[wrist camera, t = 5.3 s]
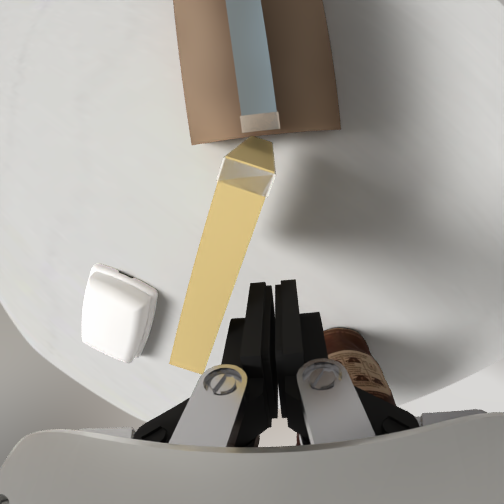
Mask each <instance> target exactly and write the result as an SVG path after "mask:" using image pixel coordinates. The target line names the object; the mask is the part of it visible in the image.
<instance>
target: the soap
mask: <svg viewBox="0 0 504 504" xmlns="http://www.w3.org/2000/svg"><path fill="white" fill-rule="evenodd" d="M157 298H158V292H157V290H156V289H155V288H153V287H151V286H150V285H148V284H146V283H144V282H142V281H141V280H139V279H137V278H135V277H134V278H130V277H128V276H126V275H124V274H121V273H119V270H117V269H114V268H112V267H109V266H106V265H103V264H100V263H97V264H95V265H94V266H93V267H92V269H91V272H90V276H89V279H88V283H87V287H86V292H85V297H84V303H83V311H82V341H83V342H84V343H86V344H87V345H89V346H91V347H92V348H94V349H96V350H98V351H100V352H102V353H104V354H106V355H108V356H110V357H112V358H115V359H117V360H120V361H122V362H125V363H131V362H132V361H133V360H134V358H138V357H139V356H140V355H141V353H142V351H143V349H144V347H145V344H146V342H147V339H148V336H149V333H150V330H151V327H152V323H153V319H154V315H155V310H156V305H157ZM142 338H143V339H142Z"/></svg>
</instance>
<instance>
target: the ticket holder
mask: <svg viewBox="0 0 504 504" xmlns="http://www.w3.org/2000/svg"><path fill="white" fill-rule="evenodd" d="M173 4H174V14H175V23H176V32H177V41H178V49H179V58H180V66H181V73H182V81H183V88H184V96H185V103H186V110H187V117H188V124H189V130H190V137H191V143H192V145H196V144H202V143H209V142H215V141H222V140H229V139H236V138H244V137H250V136H261V135H270V134H281V133H292V132H305V131H320V130H339V129H341V125H340V115H339V105H338V96H337V88H336V80H335V73H334V65H333V59H332V52H331V46H330V40H329V34H328V28H327V22H326V17H325V12H324V7H323V2H322V0H173Z"/></svg>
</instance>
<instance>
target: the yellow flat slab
mask: <svg viewBox="0 0 504 504" xmlns="http://www.w3.org/2000/svg"><path fill="white" fill-rule="evenodd" d="M275 176H276V171H275V161H274V152H273V143H272V142H269V141H266V140H263V139H260V138H257V137H254V136H250V137H249V138H247V139H246V140H245V141H244V142H242V143H241V144H240V145H238V146H237V147H236V148H235V149H233V150H232V151H231V152H229V153H228V154H227V155H226V156H224V157H223V160H222V163H221V166H220V170H219V173H218V176H217V179H216V181H218V183H217V186H216V190H215V193H214V196H213V200H212V203H211V206H210V210H209V213H208V216H207V220H206V223H205V227H204V230H203V234H202V237H201V241H200V244H199V248H198V252H197V255H196V259H195V263H194V266H193V270H192V274H191V278H190V281H189V285H188V289H187V293H186V297H185V301H184V305H183V309H182V313H181V317H180V321H179V325H178V329H177V333H176V337H175V341H174V346H173V350H172V354H171V358H170V363H169V364H171V365H174V366H177V367H180V368H183V369H187V370H190V371H193V372H196V373H199V374H203V373H204V370H205V367H206V364H207V362H208V359H209V356H210V353H211V350H212V347H213V344H214V342H215V339H216V336H217V333H218V330H219V327H220V324H221V322H222V319H223V316H224V313H225V310H226V307H227V304H228V302H229V299H230V296H231V293H232V290H233V287H234V285H235V282H236V279H237V276H238V273H239V270H240V268H241V265H242V262H243V259H244V256H245V253H246V251H247V248H248V245H249V242H250V239H251V237H252V234H253V231H254V228H255V225H256V222H257V220H258V217H259V214H260V211H261V208H262V206H263V203H264V200H265V197H267V198H268V195H269V192H270V189H271V187H272V184H273V181H274V178H275Z"/></svg>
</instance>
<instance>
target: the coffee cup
mask: <svg viewBox="0 0 504 504" xmlns="http://www.w3.org/2000/svg"><path fill="white" fill-rule="evenodd" d="M323 332H324V337H325V342H326V348H327V353H328V359H332V360H335V361H338V362H339V363H341V364H342V365H343V366H344V367H345V369H346V370H347V372H348V374H349V377H350V379H351V381H352V383H353V385H354V386H356V387H358V388H360V389H362V390H364V391H366V392H368V393H370V394H372V395H374V396H376V397H378V398H380V399H382V400H384V401H386V402H388V403H391V404H393V405H395V406H396V404H395V401H394V399H393V395H392V392H391V390H390V388H389V386H388V384H387V382H386V380H385V378H384V375H383V373H382V370H381V368H380V366H379V364H378V363H377V362H376V361H375V359H374V358H373V357H372V355H371V353H370V351H369V348H368V345H367V343H366V341H365V340H364V338H363V337H362V336H361V335H360V334H359V333H358V332H356V331H354V330H351V329H344V328H333V329H329V330H325V331H323ZM299 445H301V443H300V439H299V434H298V433H297V445H296V446H299Z"/></svg>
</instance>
